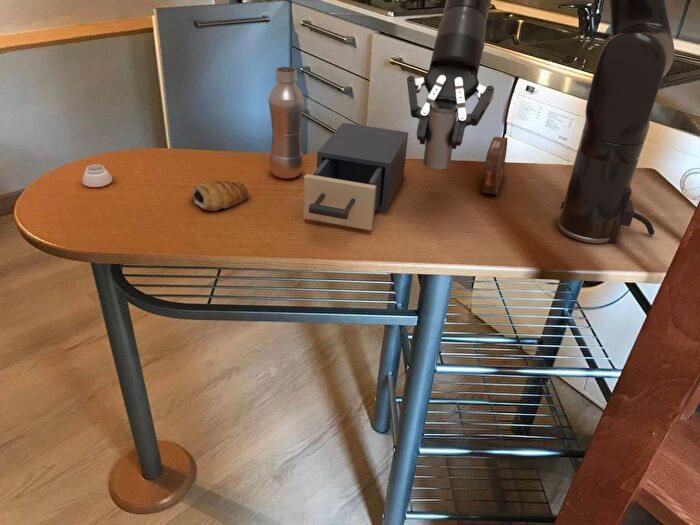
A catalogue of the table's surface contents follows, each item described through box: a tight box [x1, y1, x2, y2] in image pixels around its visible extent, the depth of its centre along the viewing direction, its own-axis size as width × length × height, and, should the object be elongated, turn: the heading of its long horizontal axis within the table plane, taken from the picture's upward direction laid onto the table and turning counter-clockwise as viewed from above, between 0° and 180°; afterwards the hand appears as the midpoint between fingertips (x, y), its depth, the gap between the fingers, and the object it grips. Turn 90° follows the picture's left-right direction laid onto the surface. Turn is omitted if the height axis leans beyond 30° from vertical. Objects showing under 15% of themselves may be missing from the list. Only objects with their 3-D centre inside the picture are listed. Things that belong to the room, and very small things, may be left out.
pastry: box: [191, 179, 249, 212], centre depth 107 cm, size 9×7×4 cm
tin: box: [481, 136, 508, 196], centre depth 118 cm, size 15×3×8 cm, turn 161°
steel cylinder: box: [422, 101, 458, 171], centre depth 95 cm, size 4×4×10 cm
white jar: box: [81, 163, 113, 188], centre depth 110 cm, size 5×3×5 cm
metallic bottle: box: [267, 66, 305, 179], centre depth 113 cm, size 6×7×20 cm
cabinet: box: [316, 122, 409, 214], centre depth 113 cm, size 16×13×9 cm
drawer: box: [303, 158, 385, 231], centre depth 103 cm, size 20×12×8 cm, turn 165°
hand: (437, 144), depth 94 cm, fingers closed on steel cylinder, 4 cm apart
